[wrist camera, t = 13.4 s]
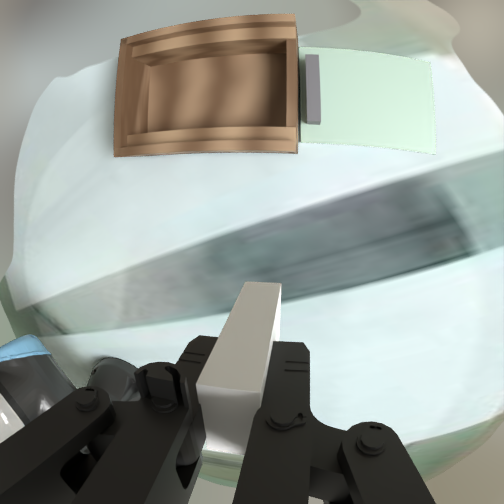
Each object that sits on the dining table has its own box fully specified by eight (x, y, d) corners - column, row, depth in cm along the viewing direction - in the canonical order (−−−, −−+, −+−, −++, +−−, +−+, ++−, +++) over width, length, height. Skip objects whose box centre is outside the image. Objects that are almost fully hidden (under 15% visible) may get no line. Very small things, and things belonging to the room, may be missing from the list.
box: (144, 156, 37) (113, 157, 30) (149, 54, 32) (121, 39, 25) (297, 153, 33) (295, 151, 27) (297, 39, 29) (294, 14, 22)
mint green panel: (300, 142, 33) (300, 140, 30) (298, 49, 30) (297, 37, 26) (433, 154, 30) (445, 154, 27) (428, 63, 27) (438, 55, 23)
